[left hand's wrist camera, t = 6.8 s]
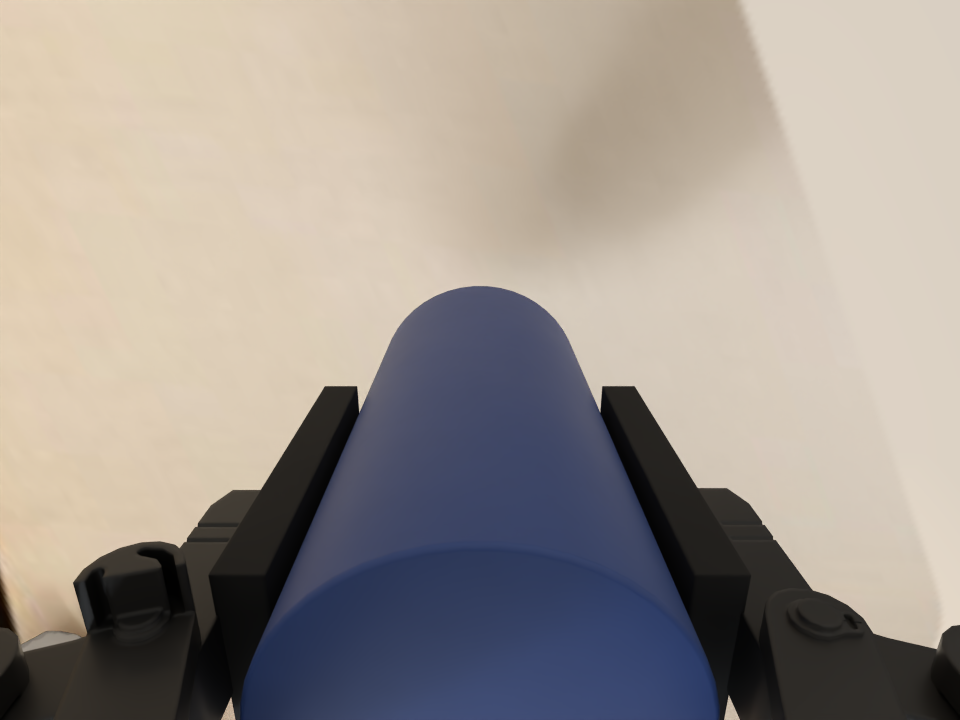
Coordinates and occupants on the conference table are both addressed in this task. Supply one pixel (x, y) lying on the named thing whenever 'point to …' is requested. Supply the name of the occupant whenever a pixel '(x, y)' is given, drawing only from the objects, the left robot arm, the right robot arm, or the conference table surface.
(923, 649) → the left robot arm
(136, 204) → the conference table surface
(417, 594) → the canister
